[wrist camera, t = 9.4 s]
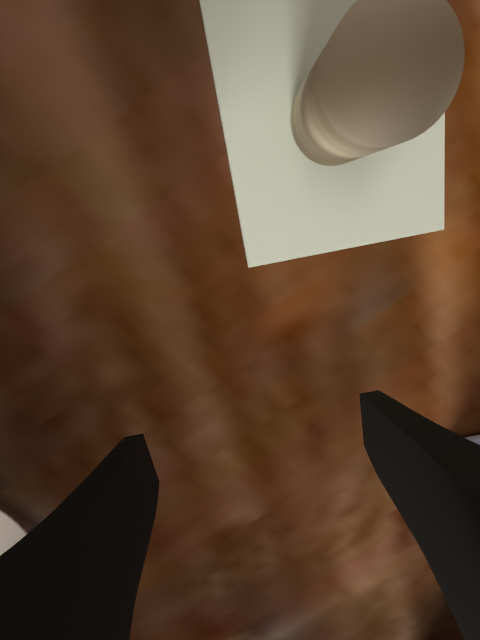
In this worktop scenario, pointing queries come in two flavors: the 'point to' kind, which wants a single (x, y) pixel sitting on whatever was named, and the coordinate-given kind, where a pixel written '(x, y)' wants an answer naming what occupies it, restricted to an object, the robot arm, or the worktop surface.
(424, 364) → the worktop surface
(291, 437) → the worktop surface
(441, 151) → the board
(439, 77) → the birch peg
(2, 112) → the worktop surface
